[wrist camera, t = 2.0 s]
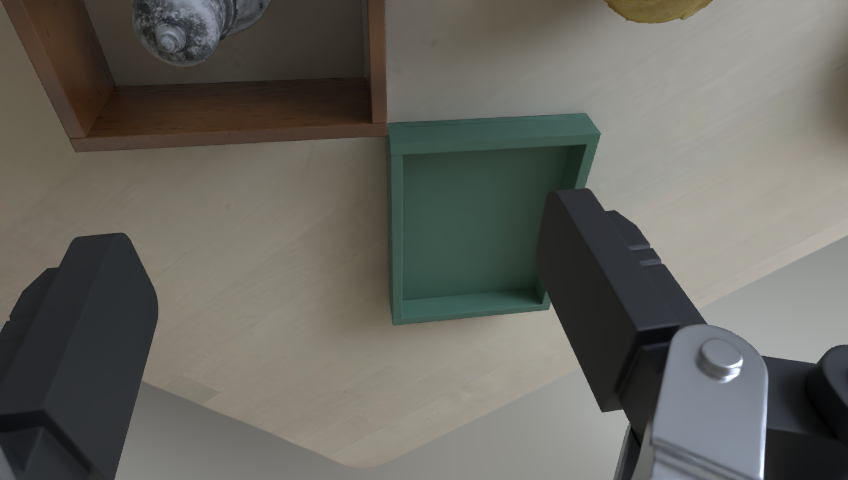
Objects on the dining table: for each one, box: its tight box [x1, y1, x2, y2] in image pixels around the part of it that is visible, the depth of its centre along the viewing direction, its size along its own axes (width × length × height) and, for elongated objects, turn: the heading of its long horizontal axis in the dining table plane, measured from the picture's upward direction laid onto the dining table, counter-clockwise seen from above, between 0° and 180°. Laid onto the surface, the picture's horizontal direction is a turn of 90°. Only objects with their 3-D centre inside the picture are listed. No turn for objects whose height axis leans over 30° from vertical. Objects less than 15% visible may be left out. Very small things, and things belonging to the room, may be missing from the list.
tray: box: [386, 114, 601, 325], centre depth 40 cm, size 18×14×3 cm
